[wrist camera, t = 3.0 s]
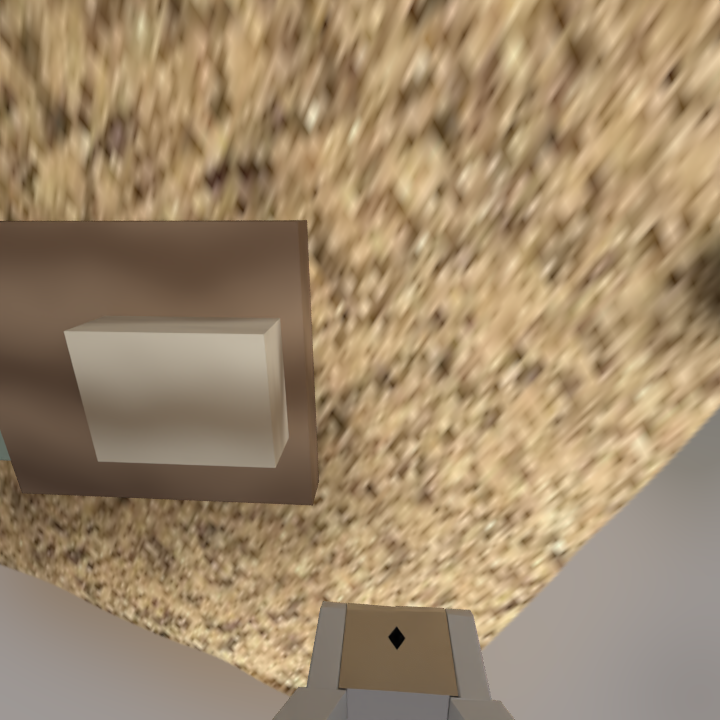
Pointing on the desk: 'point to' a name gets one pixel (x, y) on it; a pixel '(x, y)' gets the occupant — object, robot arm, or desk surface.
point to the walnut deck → (146, 298)
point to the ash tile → (182, 389)
